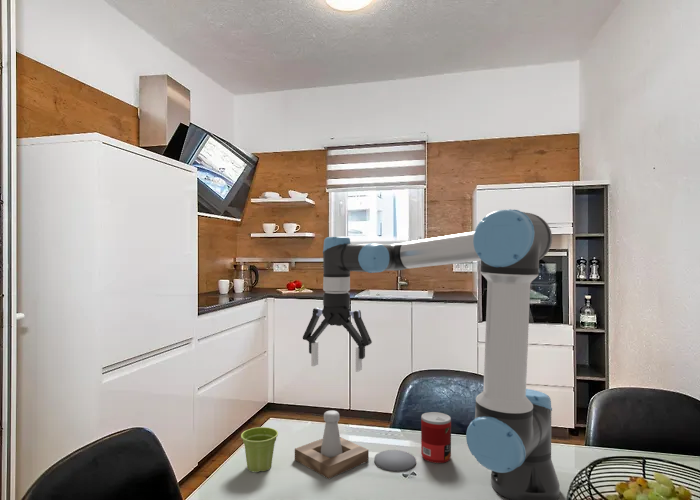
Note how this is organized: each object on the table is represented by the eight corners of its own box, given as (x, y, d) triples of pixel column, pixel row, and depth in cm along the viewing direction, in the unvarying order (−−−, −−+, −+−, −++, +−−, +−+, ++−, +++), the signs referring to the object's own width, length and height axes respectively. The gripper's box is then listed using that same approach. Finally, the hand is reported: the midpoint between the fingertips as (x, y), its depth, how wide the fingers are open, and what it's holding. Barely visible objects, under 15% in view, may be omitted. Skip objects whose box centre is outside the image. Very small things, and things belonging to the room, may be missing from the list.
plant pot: (256, 456, 125) (256, 424, 125) (285, 463, 121) (285, 430, 121) (233, 471, 116) (233, 437, 116) (263, 479, 112) (263, 444, 112)
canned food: (451, 465, 120) (451, 423, 120) (420, 462, 121) (420, 420, 121) (450, 452, 127) (450, 412, 127) (421, 449, 129) (421, 410, 129)
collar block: (368, 460, 122) (368, 449, 122) (328, 478, 112) (328, 466, 112) (333, 444, 132) (333, 434, 132) (294, 459, 122) (294, 448, 122)
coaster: (424, 461, 121) (424, 459, 121) (397, 475, 114) (397, 473, 114) (393, 448, 129) (393, 446, 129) (365, 460, 122) (365, 458, 122)
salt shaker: (316, 461, 121) (316, 412, 121) (329, 453, 126) (329, 406, 126) (333, 467, 118) (333, 417, 118) (346, 459, 123) (346, 411, 123)
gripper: (383, 292, 126) (382, 369, 126) (304, 289, 136) (303, 360, 136) (373, 295, 119) (373, 376, 119) (291, 291, 129) (290, 366, 129)
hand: (336, 367), depth 128 cm, fingers open, 13 cm apart
